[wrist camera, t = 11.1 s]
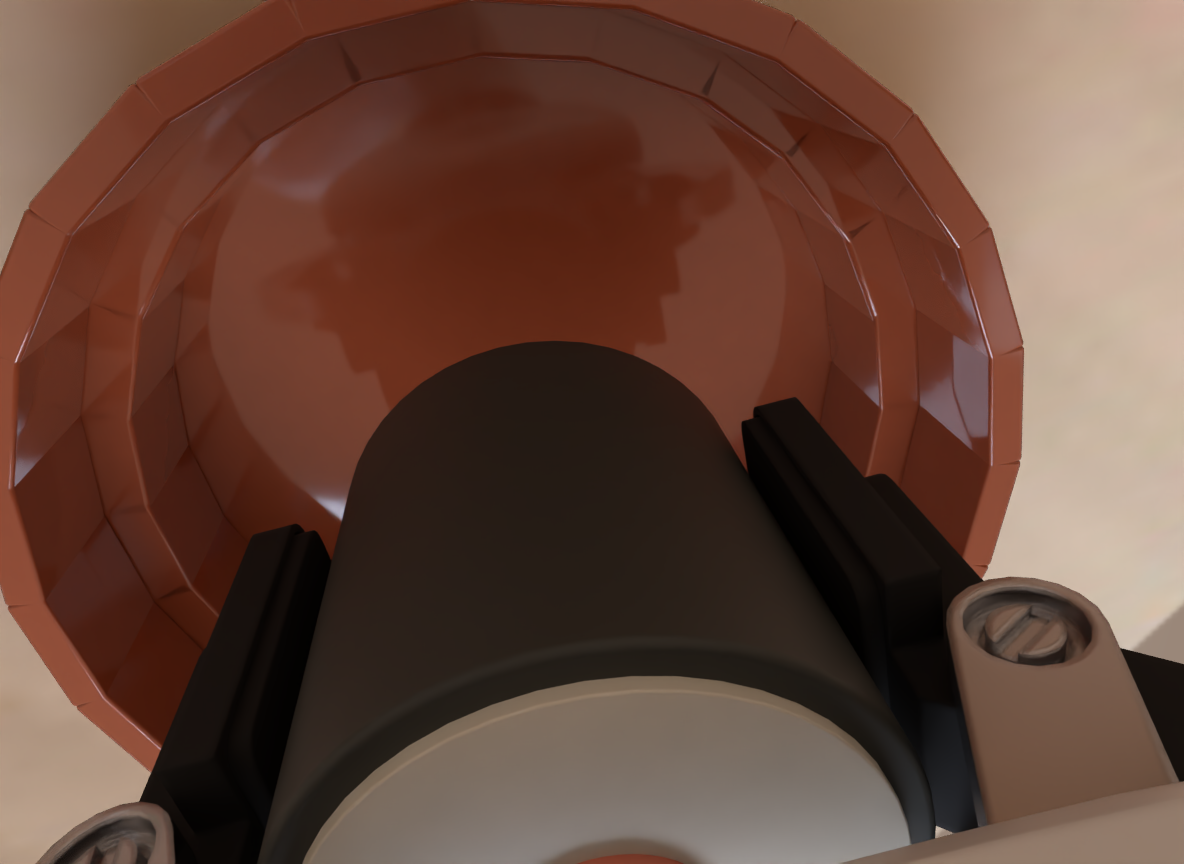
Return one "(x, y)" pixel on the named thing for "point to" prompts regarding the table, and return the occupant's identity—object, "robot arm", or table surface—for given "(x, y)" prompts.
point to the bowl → (460, 285)
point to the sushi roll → (578, 645)
